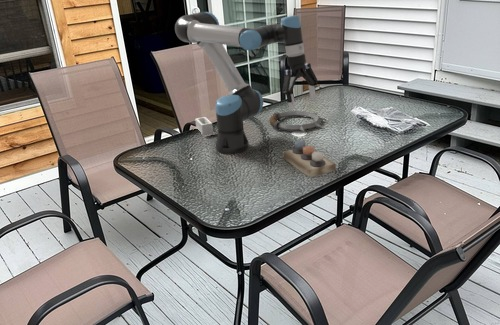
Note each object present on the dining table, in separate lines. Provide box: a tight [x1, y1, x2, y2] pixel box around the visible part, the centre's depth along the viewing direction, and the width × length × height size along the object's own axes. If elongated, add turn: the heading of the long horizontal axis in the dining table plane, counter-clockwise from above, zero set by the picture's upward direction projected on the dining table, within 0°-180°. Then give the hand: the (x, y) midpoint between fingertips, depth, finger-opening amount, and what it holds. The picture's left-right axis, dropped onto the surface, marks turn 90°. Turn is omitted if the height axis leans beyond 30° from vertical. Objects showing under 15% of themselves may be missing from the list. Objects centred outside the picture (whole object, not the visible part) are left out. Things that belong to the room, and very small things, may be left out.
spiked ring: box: [268, 110, 328, 132], centre depth 230 cm, size 33×5×30 cm
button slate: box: [293, 139, 306, 148], centre depth 187 cm, size 4×4×2 cm
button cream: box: [312, 151, 324, 161], centre depth 174 cm, size 4×4×2 cm
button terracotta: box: [303, 145, 315, 155], centre depth 181 cm, size 4×4×2 cm
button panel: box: [282, 147, 337, 178], centre depth 182 cm, size 12×22×4 cm, turn 22°
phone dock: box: [194, 116, 214, 135], centre depth 227 cm, size 5×12×6 cm, turn 22°
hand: (303, 105), depth 191 cm, fingers open, 13 cm apart
